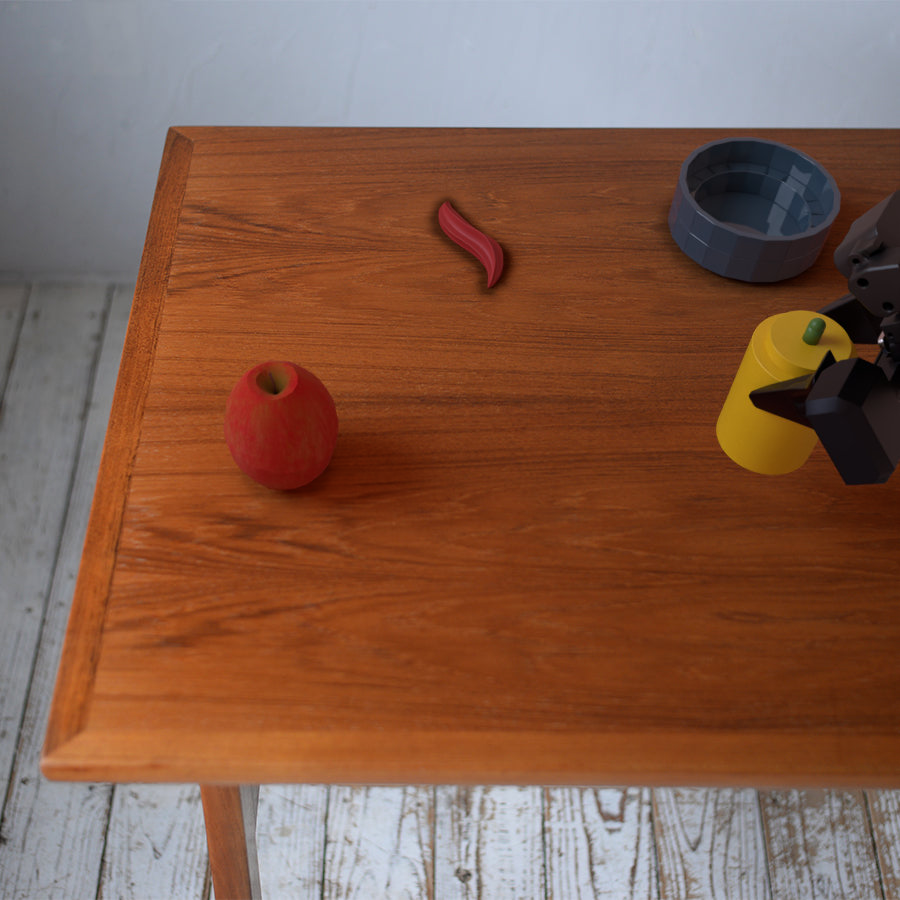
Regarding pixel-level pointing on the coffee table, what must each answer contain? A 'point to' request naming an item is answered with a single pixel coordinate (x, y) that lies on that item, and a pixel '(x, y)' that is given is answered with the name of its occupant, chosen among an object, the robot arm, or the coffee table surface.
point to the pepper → (767, 362)
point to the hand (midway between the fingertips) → (773, 365)
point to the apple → (281, 425)
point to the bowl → (753, 209)
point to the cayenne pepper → (472, 241)
